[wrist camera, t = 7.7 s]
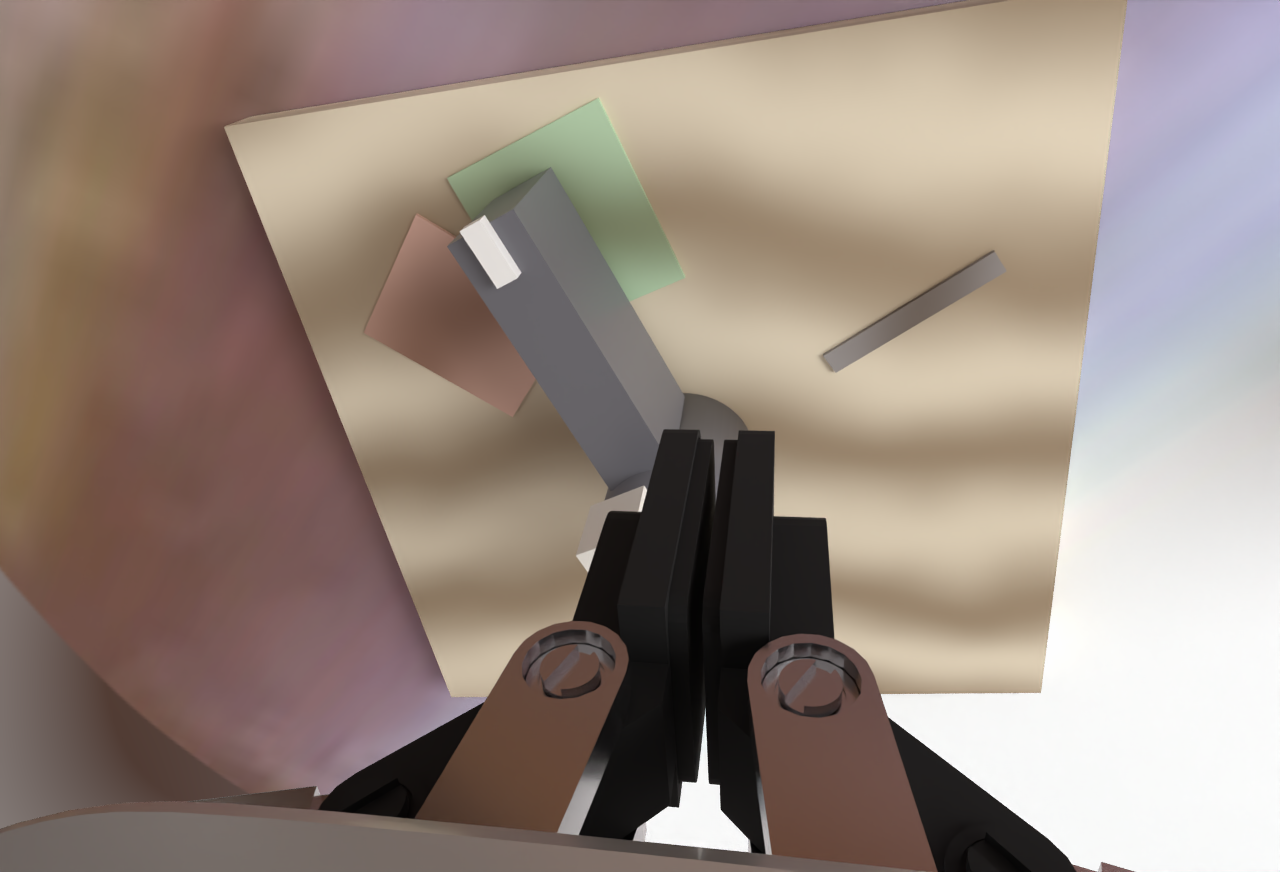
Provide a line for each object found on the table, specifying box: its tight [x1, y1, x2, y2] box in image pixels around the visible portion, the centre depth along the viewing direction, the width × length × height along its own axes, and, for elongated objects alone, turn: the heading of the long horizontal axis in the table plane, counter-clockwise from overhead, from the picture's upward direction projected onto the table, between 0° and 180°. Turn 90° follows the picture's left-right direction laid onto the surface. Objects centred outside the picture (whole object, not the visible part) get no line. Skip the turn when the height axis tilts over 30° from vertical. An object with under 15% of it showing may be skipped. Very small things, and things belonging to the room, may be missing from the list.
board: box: [224, 0, 1127, 697], centre depth 28 cm, size 24×24×2 cm
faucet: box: [447, 167, 748, 574], centre depth 22 cm, size 13×4×8 cm, turn 29°
